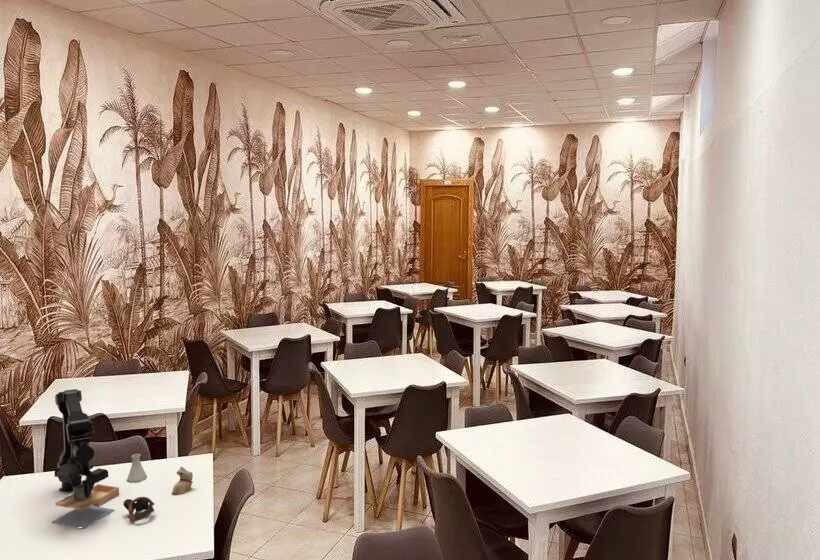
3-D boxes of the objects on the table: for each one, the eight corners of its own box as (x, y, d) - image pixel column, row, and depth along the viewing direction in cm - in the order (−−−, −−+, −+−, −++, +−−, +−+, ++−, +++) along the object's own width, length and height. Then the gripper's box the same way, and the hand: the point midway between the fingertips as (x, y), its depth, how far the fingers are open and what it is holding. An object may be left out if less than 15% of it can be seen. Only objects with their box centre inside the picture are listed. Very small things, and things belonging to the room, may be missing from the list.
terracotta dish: (77, 502, 231) (76, 494, 231) (98, 491, 240) (97, 483, 240) (98, 506, 228) (98, 498, 228) (119, 494, 237) (118, 487, 237)
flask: (139, 483, 248) (138, 459, 247) (123, 482, 249) (122, 458, 248) (150, 476, 255) (149, 452, 254) (134, 475, 256) (133, 451, 255)
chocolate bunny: (193, 492, 240) (192, 467, 239) (171, 496, 237) (170, 470, 236) (192, 487, 245) (192, 462, 244) (171, 490, 242) (170, 465, 241)
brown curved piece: (161, 511, 225) (159, 498, 220) (145, 534, 217) (143, 520, 212) (131, 501, 226) (129, 487, 222) (115, 523, 219) (112, 509, 214)
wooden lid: (55, 505, 216) (54, 490, 215) (82, 491, 227) (82, 477, 227) (82, 510, 212) (81, 495, 212) (109, 495, 224) (108, 481, 223)
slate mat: (51, 522, 216) (51, 521, 215) (83, 505, 229) (83, 504, 229) (83, 528, 211) (83, 527, 211) (114, 510, 225) (114, 509, 225)
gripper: (39, 458, 213) (42, 502, 215) (83, 465, 207) (85, 510, 209) (66, 447, 224) (68, 489, 225) (108, 453, 218) (110, 496, 220)
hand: (82, 496), depth 219 cm, fingers closed on wooden lid, 4 cm apart
